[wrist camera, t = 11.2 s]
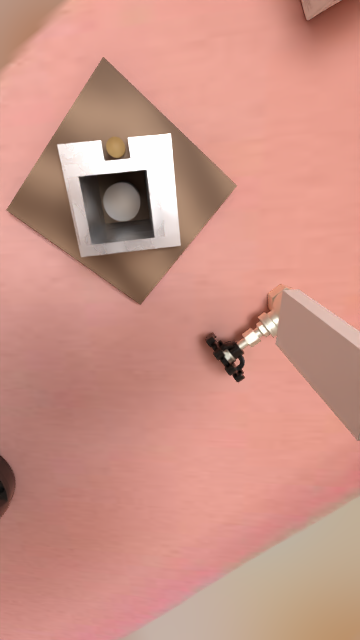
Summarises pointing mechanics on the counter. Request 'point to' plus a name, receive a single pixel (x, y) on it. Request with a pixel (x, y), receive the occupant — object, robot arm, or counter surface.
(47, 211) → the base board
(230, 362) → the valve
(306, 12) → the supplement box
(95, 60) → the counter surface
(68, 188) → the white hollow block
